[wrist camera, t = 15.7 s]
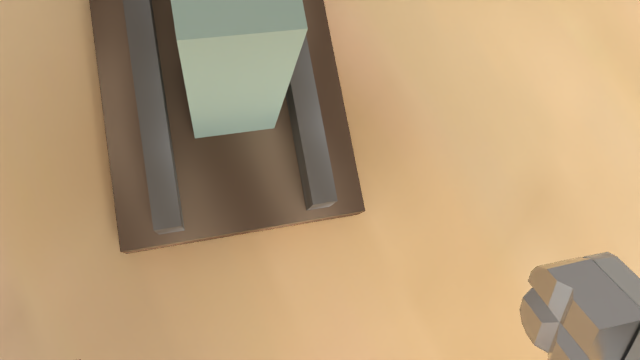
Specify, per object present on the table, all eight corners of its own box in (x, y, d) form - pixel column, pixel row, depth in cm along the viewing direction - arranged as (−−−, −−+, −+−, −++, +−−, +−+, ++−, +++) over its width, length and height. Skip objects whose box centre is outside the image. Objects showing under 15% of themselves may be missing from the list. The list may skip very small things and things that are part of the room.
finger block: (260, 50, 28) (284, -95, 17) (274, 128, 27) (307, 28, 17) (182, 57, 27) (157, -90, 16) (194, 138, 26) (176, 40, 16)
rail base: (299, -84, 31) (347, -312, 19) (357, 214, 29) (456, 164, 17) (85, -74, 29) (-13, -330, 17) (126, 253, 26) (44, 228, 14)
